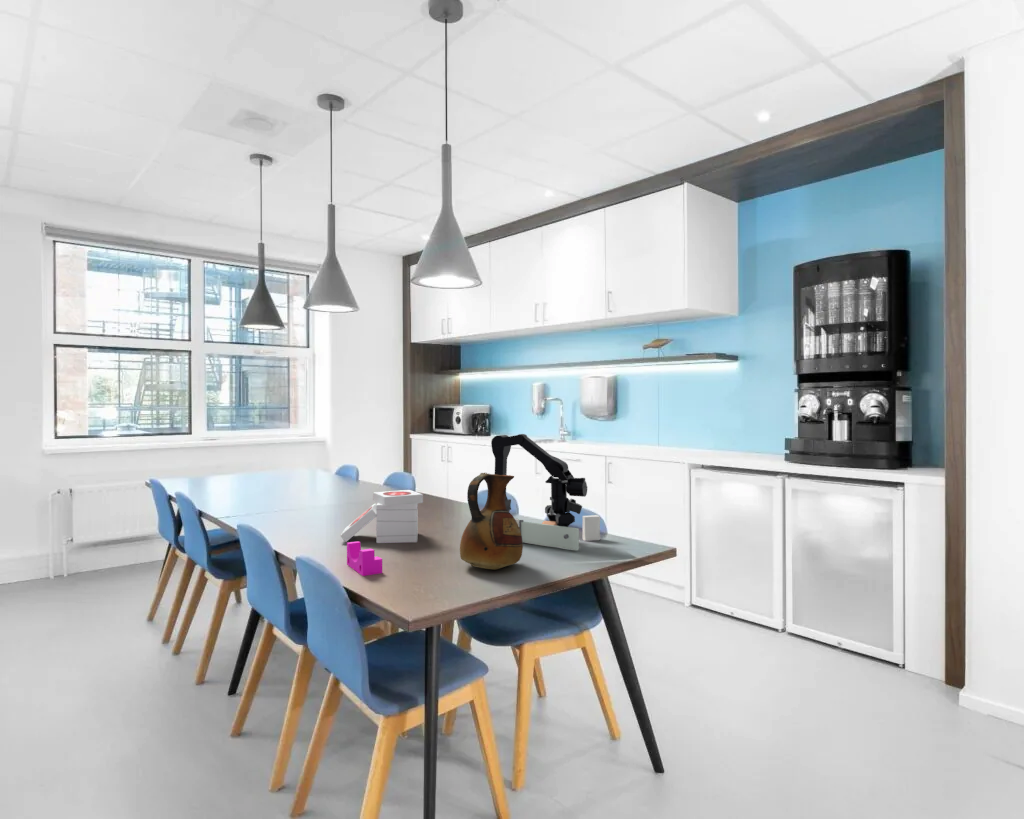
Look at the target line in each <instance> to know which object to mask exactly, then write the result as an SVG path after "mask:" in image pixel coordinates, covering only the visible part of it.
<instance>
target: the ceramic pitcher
mask: <svg viewBox="0 0 1024 819" xmlns="http://www.w3.org/2000/svg"><path fill="white" fill-rule="evenodd" d="M514 478H515V475H511V474H509V475H508V474H507V475H496V474H495V473H487V472H480V473H479V475H477V476H475V477H474V478H473V479H472V480H471V481H470V483H469V484H468V487H467V496H466V497H467V503H468V507H469V511H470V515H471V519H470V520H469V521H468V523H467V525H466V526H465V528H464V530H463V533H462V536H461V539H460V543H459V556H460V559H461V560H462V561H464V562H465V563H467V564H469V565H470V566H472V567H475V568H480V569H484V570H485V569H486V570H494V571H496V570H500V569H502V568H504V567H509V566H511V565H514V564H517V563H518V562H519V561H520V560H521V559H522V556H523V548H524V543H523V542H522V535H521V531H520V528H519V526H518V523H517V522H516V520H515V519H514V518H515V517H514V516H513V514H512V513H511V512H510V511H509V512H508V511H507V509H506V504H505V496H507V485H508V484H509V483H510V482H511V480H513V479H514ZM483 481H484V482H485V483H486V487H487V497H486V502H485V504H484V507H483V508H482V509H481V510H480V507H479V501H478V492H479V488H480V485H481V483H482V482H483Z"/></svg>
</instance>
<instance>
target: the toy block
mask: <svg viewBox="0 0 1024 819" xmlns="http://www.w3.org/2000/svg"><path fill="white" fill-rule="evenodd" d="M361 547H362V546H361V541H350V542H349V541H347V542H346V565H347V566H348V567H349V568H351V569H352V570H354V571H355V572H357V573H358V574H359V575H360V576H362V577H365V576H372V575H379V574H383V558H382V557H380V556H377V555H376V556H375V553H376V552H375V551H376V550H374V549H373V548H366V549H362V548H361Z"/></svg>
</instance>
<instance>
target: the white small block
mask: <svg viewBox="0 0 1024 819" xmlns="http://www.w3.org/2000/svg"><path fill="white" fill-rule="evenodd" d="M514 519H515V520H516V522H517V523H518V526H519V520H520V519H518V518H515V517H514ZM582 540H583V541H584V542H585V541H586V542H587V541H588V542H589V541H590V542H591V541H601V516H600V515H598V514H596V515H595V514H593V515H591V514H590V515H582Z"/></svg>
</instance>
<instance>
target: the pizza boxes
mask: <svg viewBox="0 0 1024 819" xmlns="http://www.w3.org/2000/svg"><path fill="white" fill-rule="evenodd" d="M372 501H373V502H374V504H371V506H370V507H369V508H367V509H366V510H365V511H364V512H363V513H361V514H360V515H359V516H357V518H355V519H353V521H352V522H351V523H349V524H348V525H347V526H346V527H345V528H344V529H343V531H342V532H341V534H340V538H341V539H343V542H345V543H348V542H349V540H350V539H352V537H354V536H355V535H356V534H358V533H359V532H360V531H361V530H362V529H363V528H364V527H366V526H367V525H368V524H369V523H370V522H372V521H373V520H376V521H375V522H376V529H375V530H376V534H375V535H376V540H375V541H376V544H385V543H386V544H391V543H393V544H394V543H395V544H396V543H418V537H419V536H418V534H419V532H418V531H419V530H418V527H419V526H418V525H419V524H418V523H419V521H418V520H419V517H418V516H419V514H418V510H419V509H418V506H419V504H423V503H424V494H423V493H420V492H417V491H415V490H414V491H413V490H411V489H403V490H400V489H399V490H390V491H389V490H386V491H374V492H372ZM375 518H376V519H375Z"/></svg>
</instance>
